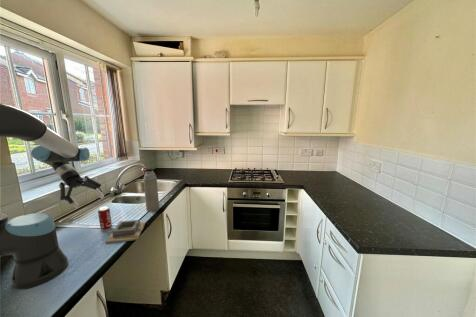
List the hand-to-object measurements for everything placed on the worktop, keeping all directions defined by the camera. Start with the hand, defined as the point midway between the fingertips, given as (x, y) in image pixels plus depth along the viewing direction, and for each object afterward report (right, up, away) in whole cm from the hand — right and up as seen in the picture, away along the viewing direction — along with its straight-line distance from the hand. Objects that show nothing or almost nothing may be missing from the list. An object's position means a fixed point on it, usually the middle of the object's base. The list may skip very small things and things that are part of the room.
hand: (91, 202), depth 105 cm
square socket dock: (+23, -15, -5) cm, 28 cm away
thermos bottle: (+24, -10, +23) cm, 35 cm away
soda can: (+9, -15, -1) cm, 17 cm away
